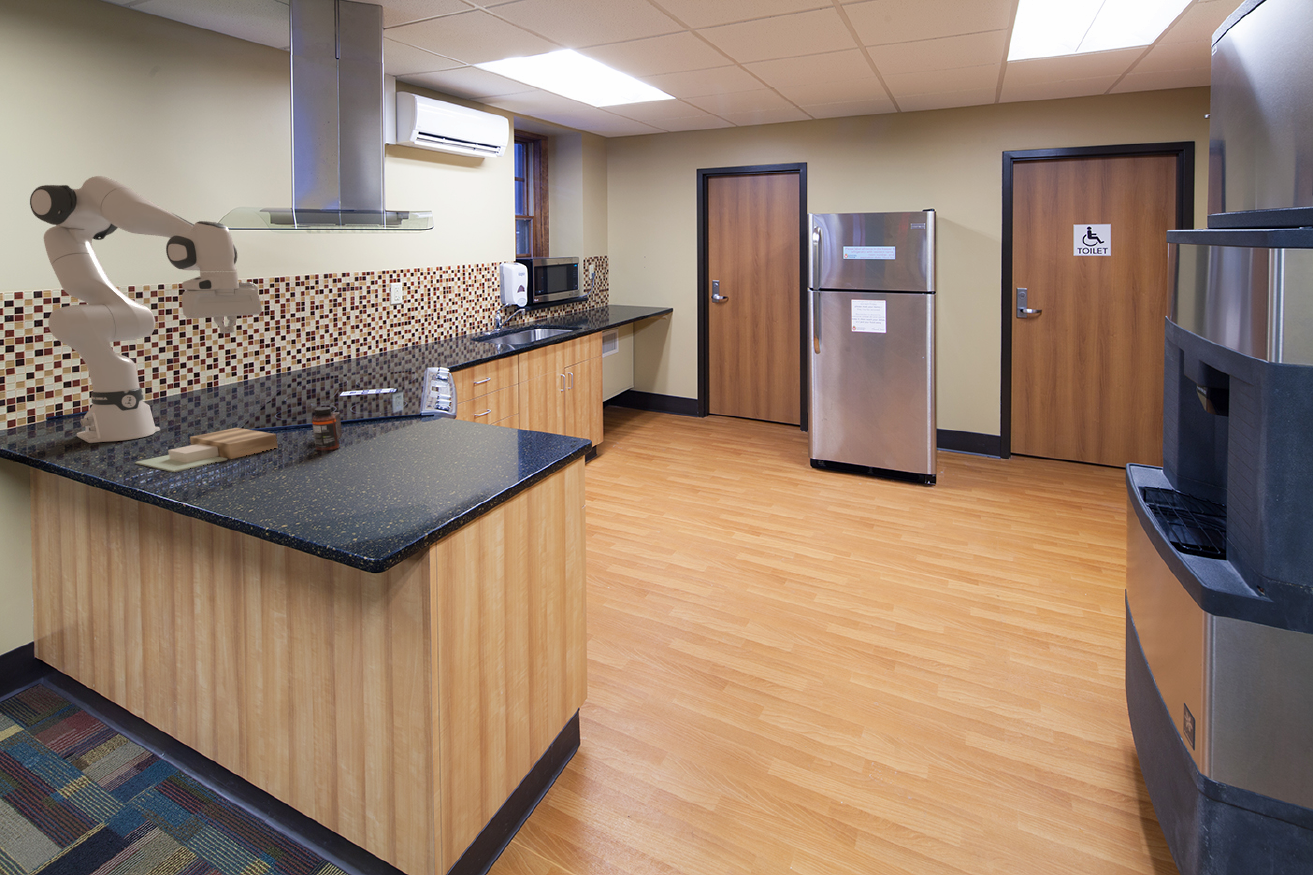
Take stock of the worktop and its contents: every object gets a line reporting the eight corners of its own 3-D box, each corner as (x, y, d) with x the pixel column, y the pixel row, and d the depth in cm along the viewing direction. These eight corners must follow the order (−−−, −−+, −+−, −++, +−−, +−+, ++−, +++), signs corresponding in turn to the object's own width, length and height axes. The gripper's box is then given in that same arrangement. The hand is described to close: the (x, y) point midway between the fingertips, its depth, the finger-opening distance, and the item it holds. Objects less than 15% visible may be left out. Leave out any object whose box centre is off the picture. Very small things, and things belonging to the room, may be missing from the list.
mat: (135, 463, 182) (135, 461, 182) (188, 452, 194) (188, 450, 193) (174, 472, 174) (173, 470, 174) (227, 459, 185) (227, 458, 185)
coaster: (169, 459, 185) (168, 450, 184) (201, 452, 192) (199, 443, 191) (187, 462, 181) (185, 453, 181) (218, 455, 188) (217, 446, 187)
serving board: (192, 451, 194) (189, 437, 193) (239, 441, 205) (237, 427, 204) (231, 459, 186) (228, 444, 185) (277, 448, 197) (275, 434, 196)
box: (315, 442, 204) (312, 416, 202) (320, 437, 210) (317, 412, 208) (338, 440, 205) (335, 415, 203) (342, 436, 211) (340, 411, 209)
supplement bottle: (332, 445, 200) (328, 405, 197) (343, 448, 196) (339, 407, 194) (311, 449, 195) (306, 408, 193) (322, 452, 192) (317, 411, 189)
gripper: (249, 281, 207) (256, 329, 210) (175, 283, 190) (183, 335, 193) (263, 282, 204) (269, 330, 207) (188, 283, 187) (196, 336, 190)
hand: (227, 333), depth 200 cm, fingers closed
